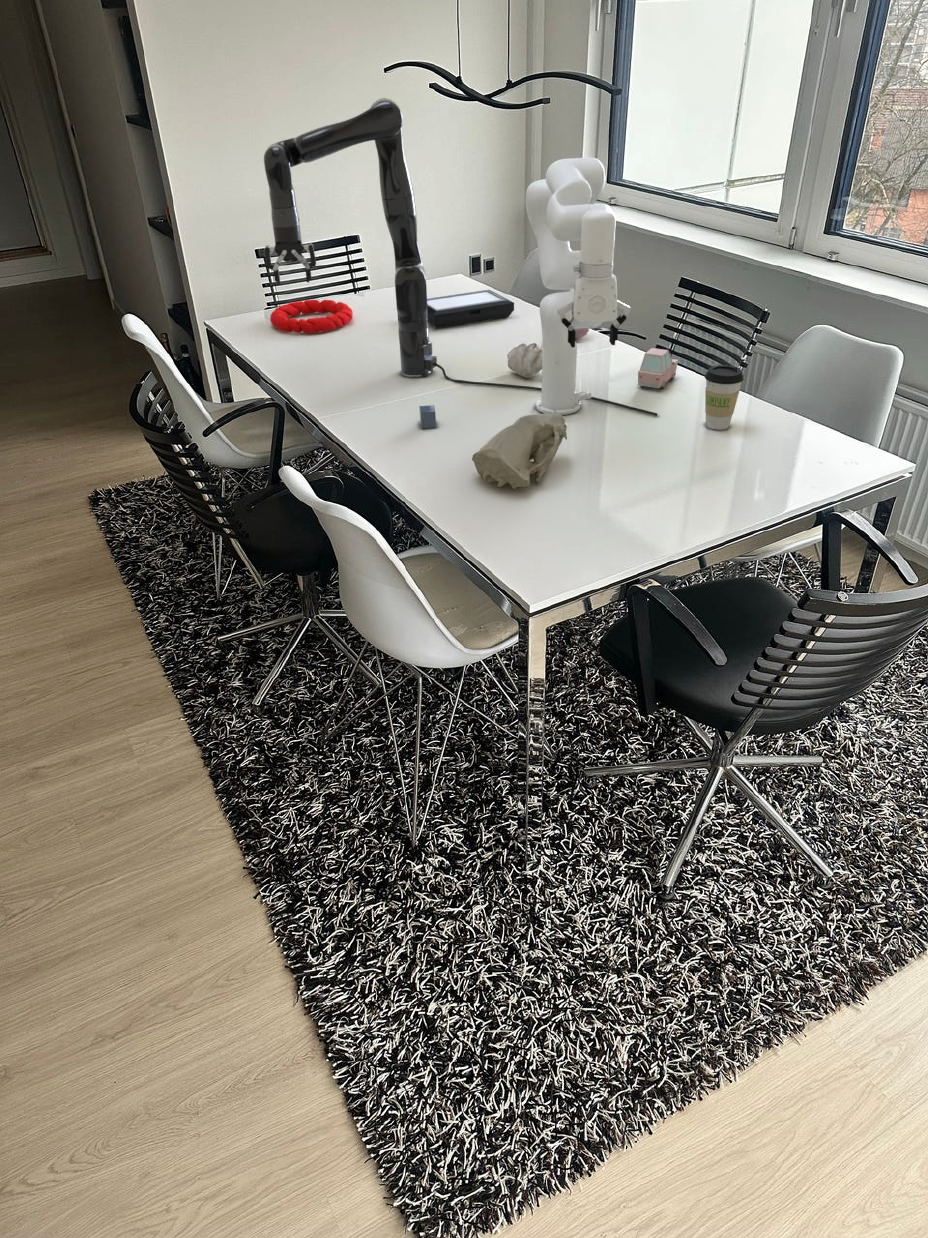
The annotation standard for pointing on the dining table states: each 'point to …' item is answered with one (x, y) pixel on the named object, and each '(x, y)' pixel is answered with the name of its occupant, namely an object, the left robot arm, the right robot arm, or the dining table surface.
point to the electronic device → (467, 308)
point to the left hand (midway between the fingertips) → (293, 282)
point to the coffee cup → (721, 395)
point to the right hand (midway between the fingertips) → (592, 344)
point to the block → (427, 416)
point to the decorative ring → (313, 324)
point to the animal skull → (521, 450)
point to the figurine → (581, 332)
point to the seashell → (525, 360)
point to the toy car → (657, 368)
